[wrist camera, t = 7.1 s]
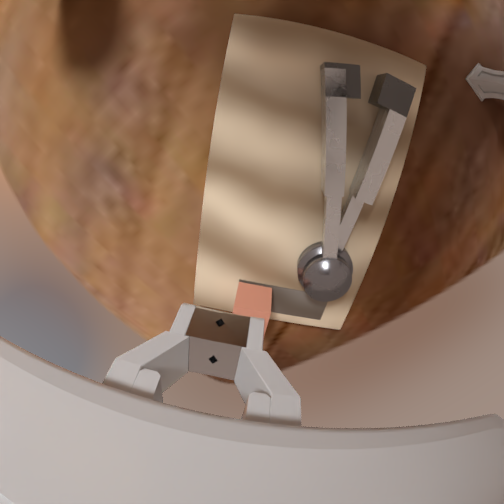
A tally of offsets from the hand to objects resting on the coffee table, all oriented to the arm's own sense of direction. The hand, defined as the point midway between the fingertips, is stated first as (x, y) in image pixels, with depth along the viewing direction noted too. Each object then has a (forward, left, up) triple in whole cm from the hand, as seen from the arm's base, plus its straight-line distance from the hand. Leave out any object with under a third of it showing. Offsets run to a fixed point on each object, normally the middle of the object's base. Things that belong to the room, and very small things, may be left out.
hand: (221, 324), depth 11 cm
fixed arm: (-2, +8, -14) cm, 16 cm away
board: (-1, +4, -16) cm, 16 cm away
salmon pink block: (+9, +2, -14) cm, 17 cm away
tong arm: (-2, +6, -14) cm, 15 cm away
